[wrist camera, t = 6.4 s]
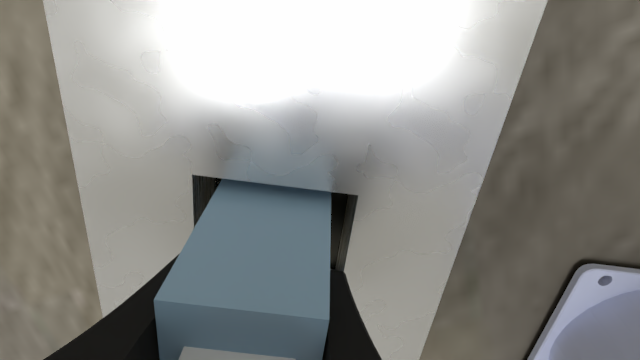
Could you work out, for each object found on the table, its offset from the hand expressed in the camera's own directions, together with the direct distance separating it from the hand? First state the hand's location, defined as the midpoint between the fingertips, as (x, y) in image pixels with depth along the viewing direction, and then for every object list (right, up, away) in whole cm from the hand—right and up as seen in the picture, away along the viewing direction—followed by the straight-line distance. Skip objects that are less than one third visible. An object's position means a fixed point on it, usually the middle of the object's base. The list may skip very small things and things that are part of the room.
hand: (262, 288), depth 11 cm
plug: (0, +2, +3) cm, 3 cm away
